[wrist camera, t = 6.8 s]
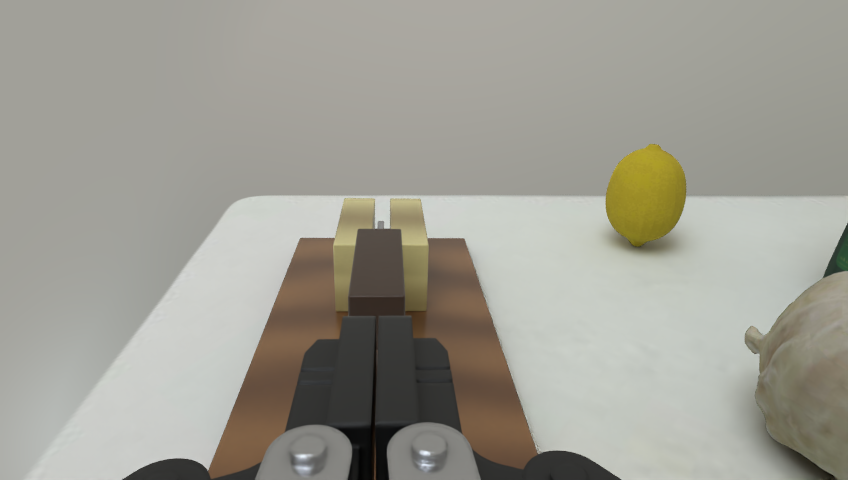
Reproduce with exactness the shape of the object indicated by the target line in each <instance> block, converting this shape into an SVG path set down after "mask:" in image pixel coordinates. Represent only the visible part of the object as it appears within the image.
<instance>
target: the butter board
mask: <svg viewBox="0 0 848 480" xmlns="http://www.w3.org/2000/svg"><path fill="white" fill-rule="evenodd" d="M358 229H375V199H372V198H345V199H344V202H343V206H342V211H341V215H340V219H339V223H338V227H337V231H336V236H335V238H300V240H299V242H298V245H297V248H296V250H295V253H294V255H293V258H292V260H291V263H290V265H289V268H288V270H287V273H286V275H285V278H284V280H283V283H282V286H281V288H280V291H279V293H278V296H277V298H276V301H275V303H274V306H273V308H272V311H271V313H270V316H269V318H268V321H267V324H266V326H265V329H264V331H263V334H262V336H261V339H260V341H259V344H258V346H257V349H256V351H255V354H254V356H253V359H252V362H251V364H250V367H249V369H248V372H247V374H246V377H245V379H244V382H243V384H242V387H241V389H240V392H239V394H238V397H237V400H236V402H235V405H234V407H233V410H232V412H231V415H230V417H229V420H228V422H227V425H226V427H225V430H224V432H223V435H222V437H221V440H220V443H219V445H218V448H217V450H216V453H215V455H214V458H213V460H212V463H211V465H210V468H209V470H208V472H209V474H210V478H211V479H213V478H217V477H221V476H224V475H228V474H232V473H235V472H239V471H242V470H245V469H248V468H250V467H252V466H254V465H256V464H258V463H260V462H262V460H263V458H264V455H265V453H266V451H267V449H268V447H269V446H270V444H271V443H272V442H273V441H274V440H275V439H276V438H277V437H279V436H280V435H282V434H283V433H284V432H285V429H286V425H287V421H288V417H289V413H290V409H291V405H292V401H293V397H294V393H295V389H296V385H297V381H298V377H299V373H300V371H301V365H302V361H303V357H304V353H305V352H306V351H307V350H308V349H309V348H310V347H311V346H312V345H313V344H314V343H315V342H316V341H317V340H318V339H339V337H340V330H341V324H342V318H343V316H348V293H349V286H350V279H351V272H352V265H353V258H354V251H355V244H356V237H357V230H358ZM390 229H401V233H402V249H403V266H404V282H405V316H412V328H413V338H436V339H437V340H438V341H439V342H440V343H441V344H442V345H443V346H444V348H445V349H446V350H447V351H448V356H449V361H450V370H451V373H452V378H453V384H454V390H455V395H456V401H457V407H458V412H459V418H460V424H461V429H462V433H463V435H464V436H465V437H466V439H467V440H468V442H469V443H470V446H471V448H472V449H473V450H474V451H475V452H477V453H478V454H479V455H481V456H483V457H484V458H486V459H488V460H490V461H493V462H495V463H499V464H502V465H507V466H511V467H515V468H520V469H524V467H525V465H526V464H527V462H528V461H529V460H530V459H531V458H533V457H534V456H536V455H538V454H537V451H536V448H535V445H534V442H533V439H532V436H531V433H530V430H529V427H528V424H527V421H526V418H525V415H524V412H523V409H522V407H521V404H520V401H519V398H518V395H517V392H516V389H515V386H514V383H513V380H512V377H511V374H510V371H509V368H508V365H507V363H506V360H505V357H504V354H503V351H502V348H501V345H500V342H499V339H498V336H497V333H496V330H495V327H494V324H493V321H492V318H491V316H490V313H489V310H488V307H487V304H486V301H485V298H484V295H483V292H482V289H481V286H480V283H479V280H478V277H477V274H476V272H475V269H474V266H473V263H472V260H471V257H470V254H469V251H468V248H467V245H466V242H465V239H464V238H427V233H426V227H425V222H424V216H423V210H422V205H421V200H420V199H390ZM376 352H377V350H376ZM374 480H376V458H375V469H374Z"/></svg>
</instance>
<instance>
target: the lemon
mask: <svg viewBox="0 0 848 480" xmlns="http://www.w3.org/2000/svg"><path fill="white" fill-rule="evenodd" d="M685 199H686V179H685V174H684V171H683V169H682V167H681V165H680V164H679V162H678V161H677V160H676V159H675V158H674V157H673V156H672V155H671V154H669V153H667V152H665V151H663V150H662V149H661V147H660V146H659V145H656V144H649V145H648V146H647V147H646V148H644V149H640V150H637V151H634V152H632V153H630V154H629V155H627V156H626V157H624V158H623V159H622V160H621V161H620V162H619V163H618V165H617V166H616V168H615V170H614V172H613V174H612V176H611V179H610V182H609V185H608V188H607V193H606V212H607V216H608V219H609V221H610V223H611V225H612V226H613V228H614V229H615V230H616V231H617V232H618V233H619V234H621V235H622V236H624V237H626V238H627V239H628V240H629V242H630V243H631V244H632V245H633V246H636V247H640V246H641V245H643V244H644V243H646V242H647V241H652V240H656V239H659V238H661V237H663V236H664V235H666V234H667V233H669V232H670V231H671V230H672V229H673V228H674V227H675V225H676V224H677V222H678V220H679V218H680V216H681V214H682V211H683V208H684V204H685Z"/></svg>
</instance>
